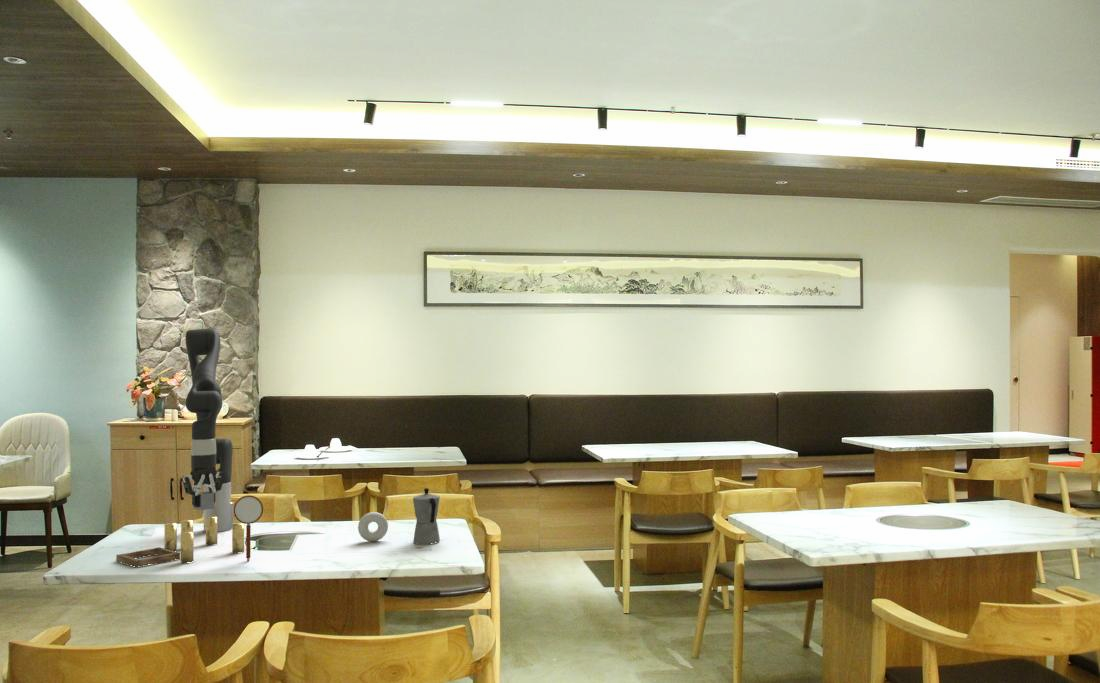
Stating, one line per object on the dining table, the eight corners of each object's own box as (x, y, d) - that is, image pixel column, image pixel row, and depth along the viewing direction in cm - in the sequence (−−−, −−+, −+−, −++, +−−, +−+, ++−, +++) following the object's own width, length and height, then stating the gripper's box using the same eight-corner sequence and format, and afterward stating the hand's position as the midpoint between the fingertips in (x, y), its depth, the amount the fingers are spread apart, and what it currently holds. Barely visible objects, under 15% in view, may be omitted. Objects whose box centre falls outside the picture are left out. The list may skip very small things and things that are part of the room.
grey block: (206, 506, 266) (206, 491, 266) (214, 508, 263) (214, 492, 263) (193, 508, 262) (193, 493, 262) (200, 510, 259) (200, 494, 259)
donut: (357, 543, 273) (357, 513, 273) (357, 541, 276) (357, 511, 277) (388, 541, 275) (388, 512, 276) (388, 539, 279) (387, 510, 279)
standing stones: (212, 542, 277) (212, 515, 277) (249, 551, 263) (249, 523, 263) (148, 554, 260) (148, 525, 260) (184, 564, 246) (184, 534, 246)
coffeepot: (407, 539, 279) (407, 486, 279) (434, 536, 283) (433, 484, 283) (420, 548, 265) (420, 492, 265) (448, 545, 269) (448, 490, 269)
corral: (159, 553, 260) (159, 547, 260) (179, 559, 252) (180, 552, 252) (116, 561, 250) (116, 554, 250) (136, 567, 242) (136, 561, 242)
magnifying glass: (263, 559, 251) (263, 494, 251) (262, 561, 249) (262, 495, 250) (234, 561, 249) (234, 495, 250) (232, 562, 248) (233, 496, 248)
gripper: (218, 450, 271) (218, 501, 270) (176, 454, 259) (176, 508, 259) (230, 451, 266) (230, 504, 266) (188, 455, 255) (188, 510, 255)
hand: (203, 505), depth 262 cm, fingers closed on grey block, 4 cm apart
